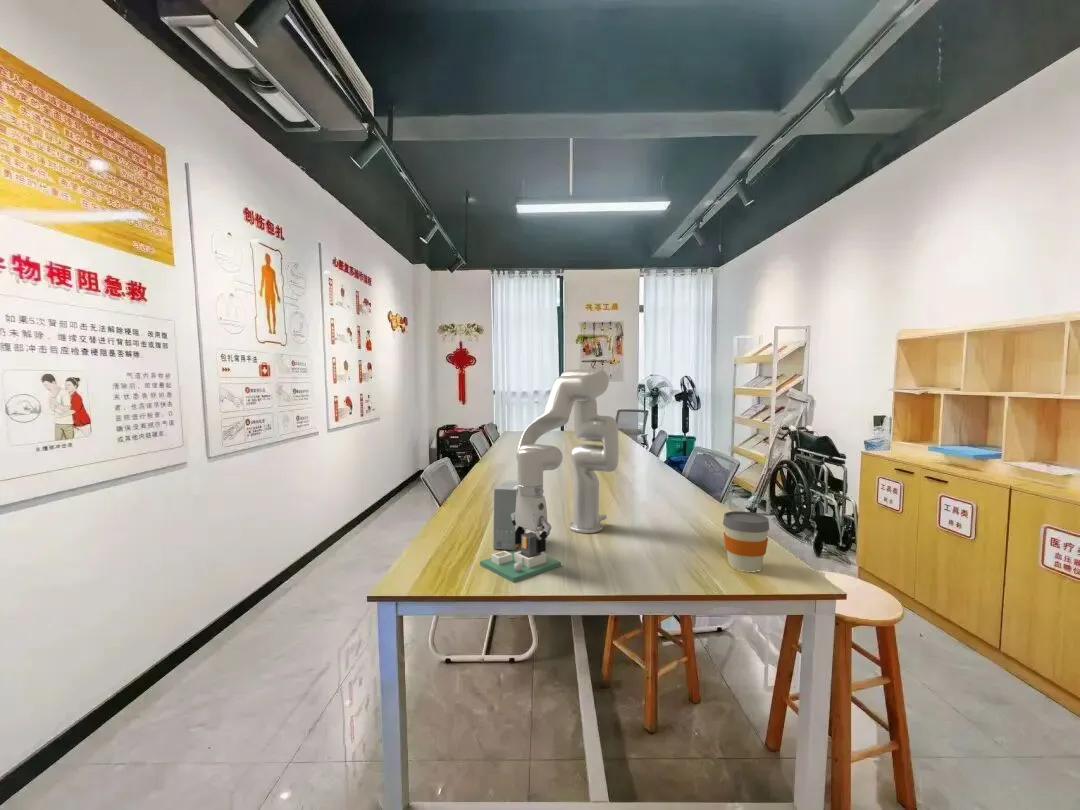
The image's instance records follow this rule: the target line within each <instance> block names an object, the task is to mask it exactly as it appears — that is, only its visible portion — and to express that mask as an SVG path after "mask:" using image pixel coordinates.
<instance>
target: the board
mask: <svg viewBox="0 0 1080 810" xmlns="http://www.w3.org/2000/svg"><path fill="white" fill-rule="evenodd" d="M519 551H521V548H520V549H515V550H512V551H510V552H509V551H508V550H507V551H506V550H502V551H499V552H496V553H495V552H494V553H491V554H490V558H486V559H483V560H480V561H479V565H480V567H483V568H485V569H487V570H489V571H491V572H492V573H494V574H496V575H498V576H500V577H502V578H504V579H506V580H508V581H509V582H512V583H516V582H518V581H522V580H524V579H527V578H530V577H533V576H535V575H538V574H541V573H544V572H547V571H550V570H553V569H556V568H557V567H560V566H562V561H560V560H557V559H555V558H553V557H551V556H548V555H546V562H545V563H542V564H539V565H536V566H533V567H530V568H527V567H525V566H522V564H521V563H517V562H514V553H516V552H519Z"/></svg>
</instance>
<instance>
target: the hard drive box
mask: <svg viewBox="0 0 1080 810" xmlns="http://www.w3.org/2000/svg"><path fill="white" fill-rule="evenodd" d="M517 494H518V480H513V479H512V480H510V479H507V480H505V481H504V482H502V483H501V484H499V485H498V486H496V487H495V488H494V489H493V524H492V525H493V528H492V534H493V535H492V549H495V550H503V551H506V550H507V551H516V550H517V549H518V547H519V545H520V544H515V530H514V525H513V523H512V521H513V520H512V518H511V514H512V513H514V512H515V507H516V498H517ZM523 529H524V531H525V534H526V533H527V531H526V530H527V529H525V528H523Z"/></svg>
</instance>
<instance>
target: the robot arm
mask: <svg viewBox="0 0 1080 810" xmlns="http://www.w3.org/2000/svg"><path fill="white" fill-rule="evenodd" d="M609 379H610V378H609V375H608V373H607V372H606V371H605V370H604V369H601V368H598V369H597V368H595V369H592V368H590V369H582V368H581V369H580V368H579V369H575V368H574V369H568V370H564V371H563V372H562V373H561V374H560V376H557V378H555V379H554V380H553V383H552V385H551V389H550V392H549V393H548V397H547V400H546V404H545V406H544V410H543V412H542V413H541V415H539V416H537V418H535V419H534V420H533V421H532V422H530V424H529V425H527V426H526V428H525V429H524V431H523V433H522V434H521V437H520V440H519V443H518V446H517V450H516V461H517V481H518V494H517V498H516V507H515V512H514V513H512V514H511V518H512V520H513V521H512V523H513V525H514V530H515V544H519V545H521V535H522V534H525V531H524V529H523V528H525V529H526V530H528V531H530V532H533V533H536V535H537V538H538V539H536V552H537V553H541V552H543V553H544V552H546V550H547V547H546V545H547V539H548V536H549V535H550V532H551V530H552V525H551V523H549V522H548V510H547V509H548V508H547V507H548V506H547V502H546V496H545V495H544V491H545V490H544V471H555V470H556V469H558V468H559V467H560V466H561V464H562V462H563V453H562V451H561V449H560V448H558V447H557V446H555V445H548V444H547V445H546V444H539V443H536V442H537V440H538V439H540V438H541V436H543V435H546V434H547V433H549V432H551V431H553V430H556V429H559V428H561V427H563V426H565V425H566V424H567V423H568V422H569V420H570V415H571V413H572V410H573V426H574V427H573V428H574V435H575V438H576V439H578V440H580V441H584V442H597V443H602V444H593V443H592V444H591V443H579V444H576V445H575V446H574V447H572V449H571V452H570V460H571V465H572V473H573V475H572V478H573V479H572V480H573V485H572V487H573V490H572V491H573V493H572V494H573V500H572V501H573V503H572V505H573V508H572V509H573V511H572V512H573V513H572V514H573V516H572V517H573V518H572V519H573V520H572V521H571V522H569V524H568V528H569V530H570V531H573V532H576V533H581V534H595V533H599V532H602V530H604V529H603V528H604V525H603V524H602V523H601V522H602V521H605V520H607V515H606V514H604V513H603V514H600V511H599V510H600V508H599V507H600V502H599V501H600V481H599V478H598V475H597V473H596V472H604V473H605V472H606V473H611V472H614V471H616V469H617V468H618V464H619V428H618V424H617V420H616V419H615V418H614V417H613V416H611V415H610V416H609V415H600V414H599V415H598V403H597V398H598V397H600V396H602V395H604V393H605V392H606V391H607V390H608V387H609V384H610V383H609V382H610V380H609ZM540 532H541V533H540Z"/></svg>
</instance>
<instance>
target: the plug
mask: <svg viewBox="0 0 1080 810" xmlns="http://www.w3.org/2000/svg"><path fill="white" fill-rule="evenodd" d="M536 539H538V538H537V535H536V533H535V532H534V531H530V532H526V534H522V535H521V543H520V549H521V555H523V556H525V557H528V558H531V557H534V556H537V555H540V553H537V552H536Z"/></svg>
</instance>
